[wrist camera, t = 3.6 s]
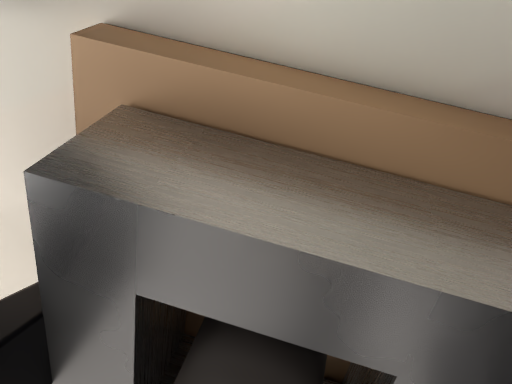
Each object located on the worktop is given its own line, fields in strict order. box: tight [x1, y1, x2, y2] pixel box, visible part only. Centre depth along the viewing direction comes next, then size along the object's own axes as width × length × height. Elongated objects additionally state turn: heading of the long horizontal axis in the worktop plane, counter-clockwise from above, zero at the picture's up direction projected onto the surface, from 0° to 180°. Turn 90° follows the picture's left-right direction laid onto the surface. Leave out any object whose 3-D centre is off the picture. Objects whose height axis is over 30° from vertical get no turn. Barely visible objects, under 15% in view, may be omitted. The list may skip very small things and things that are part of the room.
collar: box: [24, 104, 512, 384], centre depth 9 cm, size 7×7×3 cm
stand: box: [70, 23, 512, 384], centre depth 9 cm, size 9×9×4 cm
